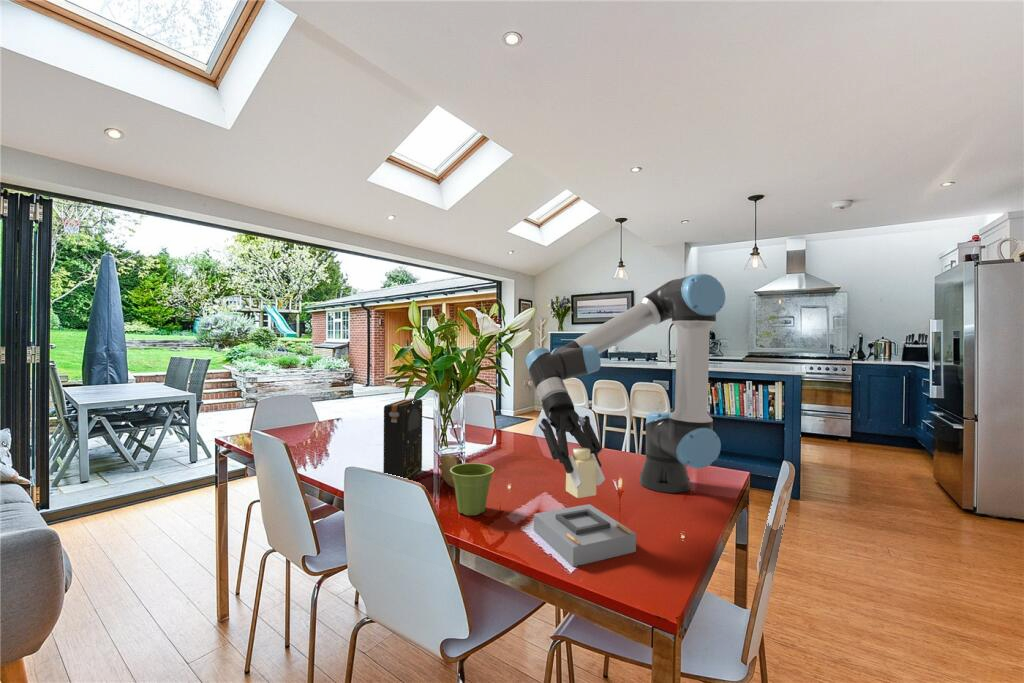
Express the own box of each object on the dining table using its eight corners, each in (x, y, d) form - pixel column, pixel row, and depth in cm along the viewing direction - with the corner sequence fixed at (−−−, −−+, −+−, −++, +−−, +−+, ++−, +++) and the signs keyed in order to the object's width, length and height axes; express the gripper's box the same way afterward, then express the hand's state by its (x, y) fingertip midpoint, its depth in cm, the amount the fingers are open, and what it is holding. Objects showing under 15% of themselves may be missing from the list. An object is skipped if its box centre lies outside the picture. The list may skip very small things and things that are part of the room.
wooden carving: (477, 491, 131) (477, 458, 130) (464, 495, 127) (465, 461, 127) (445, 478, 143) (445, 448, 142) (433, 481, 139) (434, 450, 139)
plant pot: (501, 514, 114) (502, 471, 114) (459, 523, 108) (460, 478, 108) (482, 499, 124) (482, 460, 124) (443, 507, 118) (443, 466, 118)
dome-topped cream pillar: (583, 488, 103) (584, 446, 103) (596, 495, 98) (596, 451, 98) (565, 490, 101) (566, 447, 101) (577, 498, 96) (578, 453, 96)
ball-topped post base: (589, 519, 111) (589, 500, 111) (635, 551, 95) (636, 529, 95) (533, 530, 105) (533, 509, 105) (573, 566, 88) (573, 542, 88)
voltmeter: (405, 484, 136) (405, 405, 136) (380, 482, 138) (380, 404, 137) (425, 469, 151) (425, 398, 151) (402, 468, 153) (402, 397, 153)
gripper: (579, 406, 117) (616, 486, 102) (518, 410, 110) (548, 497, 95) (590, 389, 112) (631, 470, 97) (528, 391, 105) (561, 480, 90)
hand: (590, 483), depth 96 cm, fingers closed on dome-topped cream pillar, 5 cm apart
